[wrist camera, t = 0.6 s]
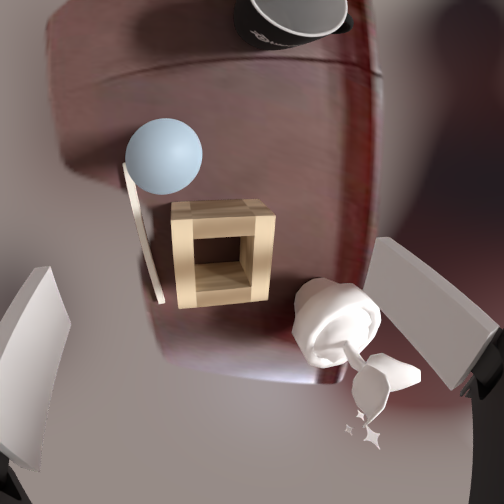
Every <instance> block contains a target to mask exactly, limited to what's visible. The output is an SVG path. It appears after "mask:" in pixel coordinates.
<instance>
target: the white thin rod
mask: <svg viewBox="0 0 504 504" xmlns="http://www.w3.org/2000/svg"><path fill="white" fill-rule="evenodd" d="M123 169H124V174H125V179H126V184H127V189H128V193H129V198H130V202H131V207H132V211H133V215H134V219H135V223H136V227H137V231H138V235H139V239H140V243H141V246H142V250H143V254H144V257H145V261H146V264H147V267H148V271H149V274H150V277H151V281H152V284H153V287H154V290H155V293H156V296H157V299H158V302H159V304H162V303H165V298H164V295H163V292H162V288H161V285H160V282H159V278H158V275H157V271H156V268H155V264H154V261H153V257H152V253H151V250H150V246H149V242H148V238H147V234H146V230H145V226H144V222H143V218H142V213H141V209H140V204H139V200H138V195H137V190H136V186H135V182H134V181H133V180H132V179H131V177H130V175H129V173H128V171H127V167H126V162H124V163H123Z"/></svg>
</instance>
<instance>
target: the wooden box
mask: <svg viewBox="0 0 504 504" xmlns="http://www.w3.org/2000/svg"><path fill="white" fill-rule="evenodd" d="M275 217H276V215H275V214H274V213H273V212H272V211H271V210H270V209H268V208H267V207H266V206H265V205H264V204H263V203H262V202H261V201H260V200H259V199H234V200H206V201H186V202H172V204H171V230H172V245H173V258H174V269H175V279H176V289H177V298H178V307H179V309H183V308H195V307H206V306H216V305H226V304H236V303H245V302H254V301H263V300H268V293H269V283H270V272H271V262H272V251H273V240H274V229H275ZM236 236H240V261H235V262H221V263H208V264H194V248H193V239H203V238H219V237H236Z"/></svg>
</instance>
